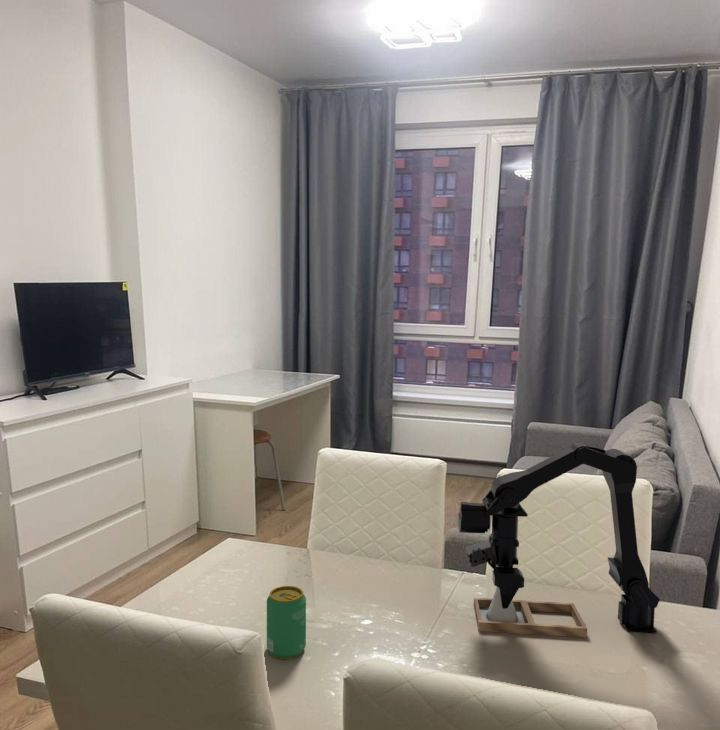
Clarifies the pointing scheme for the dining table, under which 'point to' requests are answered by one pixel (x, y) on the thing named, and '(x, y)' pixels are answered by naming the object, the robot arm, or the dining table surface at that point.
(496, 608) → the flask
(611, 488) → the robot arm
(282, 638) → the beverage can
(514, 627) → the caddy
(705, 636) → the dining table surface
